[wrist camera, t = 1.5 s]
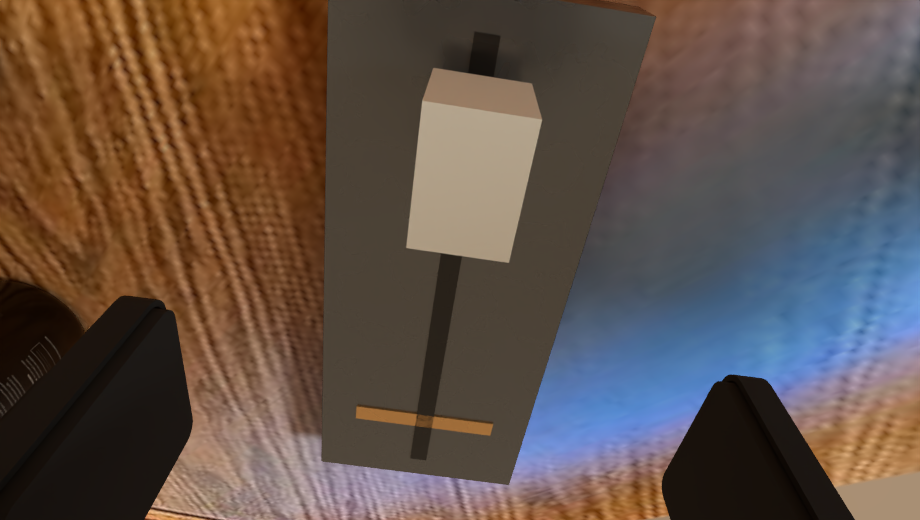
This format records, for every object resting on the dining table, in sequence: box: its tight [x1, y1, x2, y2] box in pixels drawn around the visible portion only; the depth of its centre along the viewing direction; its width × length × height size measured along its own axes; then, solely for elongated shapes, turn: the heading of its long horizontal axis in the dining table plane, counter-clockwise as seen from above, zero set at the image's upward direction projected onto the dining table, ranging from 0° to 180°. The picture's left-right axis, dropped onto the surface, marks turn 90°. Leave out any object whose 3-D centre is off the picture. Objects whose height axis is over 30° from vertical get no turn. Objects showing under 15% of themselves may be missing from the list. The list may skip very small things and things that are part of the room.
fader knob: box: [406, 68, 542, 263], centre depth 19 cm, size 5×4×6 cm
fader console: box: [322, 0, 656, 485], centre depth 28 cm, size 28×12×3 cm, turn 172°
